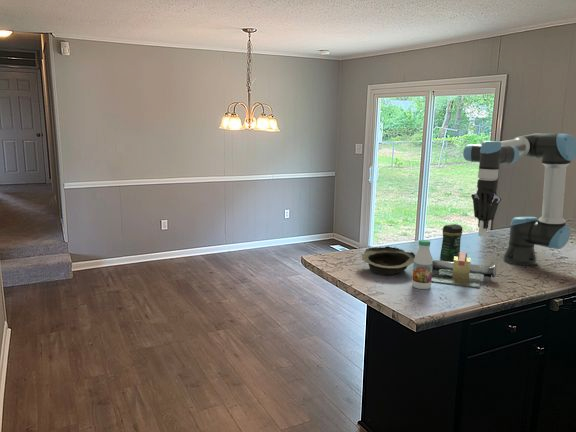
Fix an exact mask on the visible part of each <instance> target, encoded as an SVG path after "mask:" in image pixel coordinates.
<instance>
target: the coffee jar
mask: <svg viewBox="0 0 576 432" xmlns="http://www.w3.org/2000/svg"><path fill="white" fill-rule="evenodd" d="M462 234H463V226H462V225H461V224H460V225H459V224H456V223H454V224H445V225H444V226H443V228H442V242H441V248H440V249H441V250H440V254H439V255H440V256H439V259H440V261H448V262H454V256H458V253H459V252H461V239H462Z"/></svg>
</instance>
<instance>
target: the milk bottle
mask: <svg viewBox="0 0 576 432" xmlns="http://www.w3.org/2000/svg"><path fill="white" fill-rule="evenodd" d="M430 247H431V241H430V240H428V239H420V240H418V250H417V251H416V254H415V258H414V263H412V264H413V266H412V278H411V279H412V280H411V285H412V287H413V288H415V289H419V290H429V289H431V287H432V282H431V279H432V264H433V260H434V259H433V256H432V253H431V251H430Z"/></svg>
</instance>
